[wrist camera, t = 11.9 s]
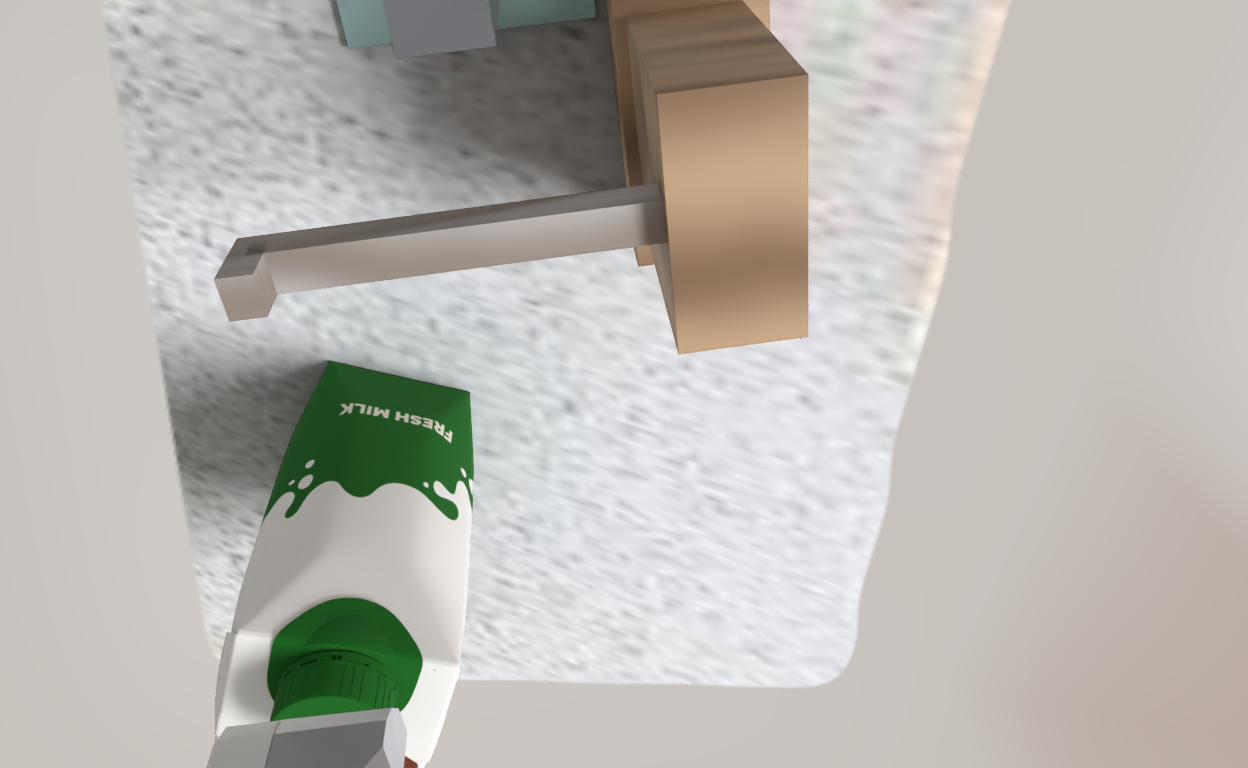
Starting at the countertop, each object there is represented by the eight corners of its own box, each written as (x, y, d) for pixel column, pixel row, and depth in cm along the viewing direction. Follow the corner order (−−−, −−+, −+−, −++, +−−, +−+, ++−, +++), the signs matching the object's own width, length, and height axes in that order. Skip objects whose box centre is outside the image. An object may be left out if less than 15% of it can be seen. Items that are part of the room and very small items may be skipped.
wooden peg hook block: (258, 4, 39) (151, 111, 27) (752, -59, 39) (847, 21, 28) (337, 276, 45) (278, 453, 34) (760, 220, 46) (839, 377, 34)
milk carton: (492, 380, 49) (479, 709, 32) (450, 516, 54) (419, 866, 37) (312, 339, 47) (198, 668, 30) (284, 484, 51) (171, 841, 35)
